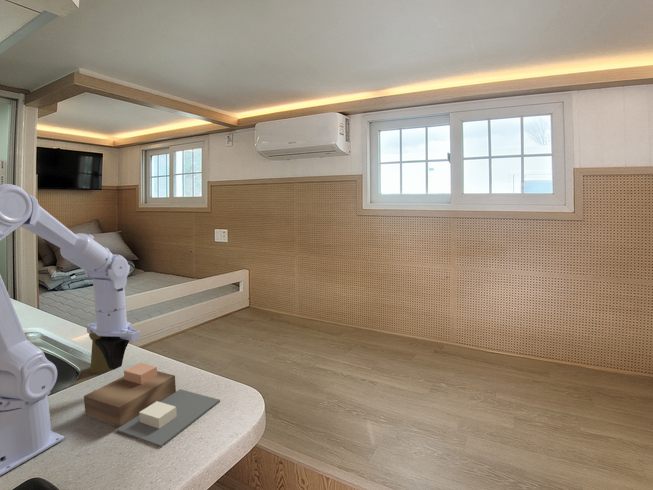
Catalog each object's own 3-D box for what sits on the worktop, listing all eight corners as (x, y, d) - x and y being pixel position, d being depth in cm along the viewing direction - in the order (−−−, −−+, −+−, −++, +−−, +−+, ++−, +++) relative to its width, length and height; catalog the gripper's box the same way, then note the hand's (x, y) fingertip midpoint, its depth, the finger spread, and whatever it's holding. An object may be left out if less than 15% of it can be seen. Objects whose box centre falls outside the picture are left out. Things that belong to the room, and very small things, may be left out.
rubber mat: (161, 447, 59) (161, 445, 59) (116, 431, 64) (116, 429, 64) (220, 401, 73) (220, 399, 73) (180, 390, 77) (180, 389, 77)
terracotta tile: (141, 384, 72) (140, 375, 72) (124, 379, 74) (123, 370, 74) (157, 375, 76) (156, 366, 76) (140, 371, 78) (140, 362, 78)
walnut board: (120, 427, 65) (119, 407, 64) (85, 415, 69) (83, 396, 68) (175, 392, 77) (174, 375, 76) (143, 383, 80) (142, 367, 80)
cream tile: (139, 412, 65) (139, 422, 66) (158, 418, 64) (159, 428, 64) (157, 401, 69) (157, 410, 69) (176, 406, 67) (176, 416, 67)
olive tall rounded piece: (121, 360, 92) (117, 320, 91) (115, 371, 87) (111, 328, 85) (94, 364, 90) (90, 323, 89) (86, 375, 85) (82, 331, 83)
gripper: (150, 307, 77) (154, 365, 79) (106, 300, 83) (110, 354, 85) (121, 316, 71) (125, 380, 73) (75, 308, 77) (80, 367, 78)
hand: (115, 367), depth 78 cm, fingers closed
